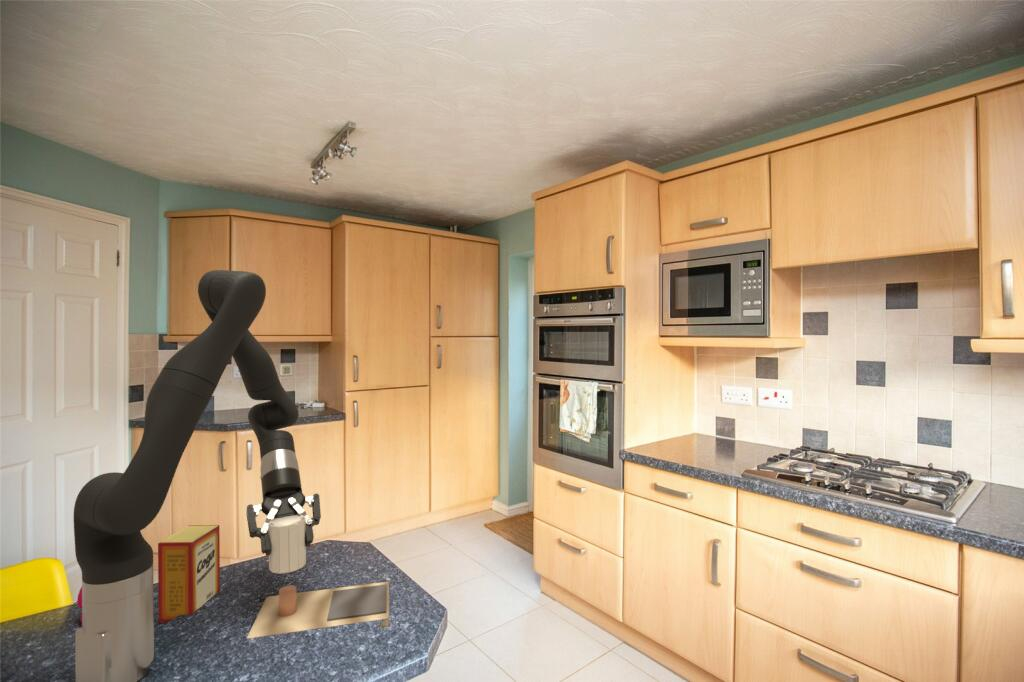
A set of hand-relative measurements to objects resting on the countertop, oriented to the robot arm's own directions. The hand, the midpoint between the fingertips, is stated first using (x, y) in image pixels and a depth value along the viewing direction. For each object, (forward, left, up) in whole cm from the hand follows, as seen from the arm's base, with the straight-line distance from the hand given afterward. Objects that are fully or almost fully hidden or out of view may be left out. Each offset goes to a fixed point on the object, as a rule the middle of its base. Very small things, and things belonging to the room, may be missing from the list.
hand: (288, 549), depth 96 cm
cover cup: (+1, +1, -4) cm, 4 cm away
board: (+4, -5, -14) cm, 16 cm away
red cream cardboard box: (-1, +24, -15) cm, 28 cm away
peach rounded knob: (+1, +1, -13) cm, 13 cm away
